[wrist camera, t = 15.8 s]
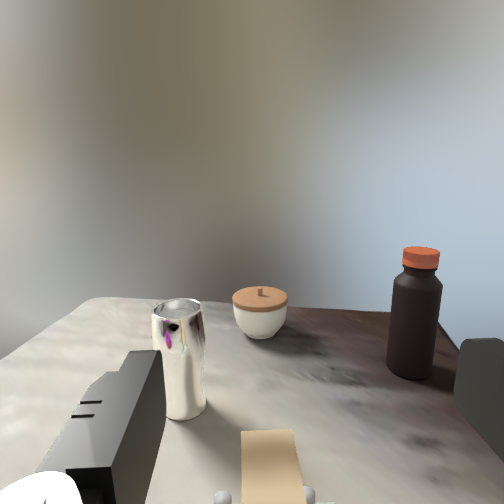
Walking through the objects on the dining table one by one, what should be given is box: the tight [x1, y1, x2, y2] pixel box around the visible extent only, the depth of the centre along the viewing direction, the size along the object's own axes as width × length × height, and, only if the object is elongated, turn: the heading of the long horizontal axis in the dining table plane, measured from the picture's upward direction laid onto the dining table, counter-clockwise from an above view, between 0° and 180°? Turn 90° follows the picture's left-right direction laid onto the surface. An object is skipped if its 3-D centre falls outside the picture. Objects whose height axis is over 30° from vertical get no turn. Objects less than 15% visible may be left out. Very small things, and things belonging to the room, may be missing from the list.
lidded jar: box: [233, 287, 287, 339], centre depth 69 cm, size 11×11×9 cm
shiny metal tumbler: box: [151, 298, 206, 421], centre depth 47 cm, size 7×7×15 cm
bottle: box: [386, 247, 443, 380], centre depth 54 cm, size 7×7×20 cm
